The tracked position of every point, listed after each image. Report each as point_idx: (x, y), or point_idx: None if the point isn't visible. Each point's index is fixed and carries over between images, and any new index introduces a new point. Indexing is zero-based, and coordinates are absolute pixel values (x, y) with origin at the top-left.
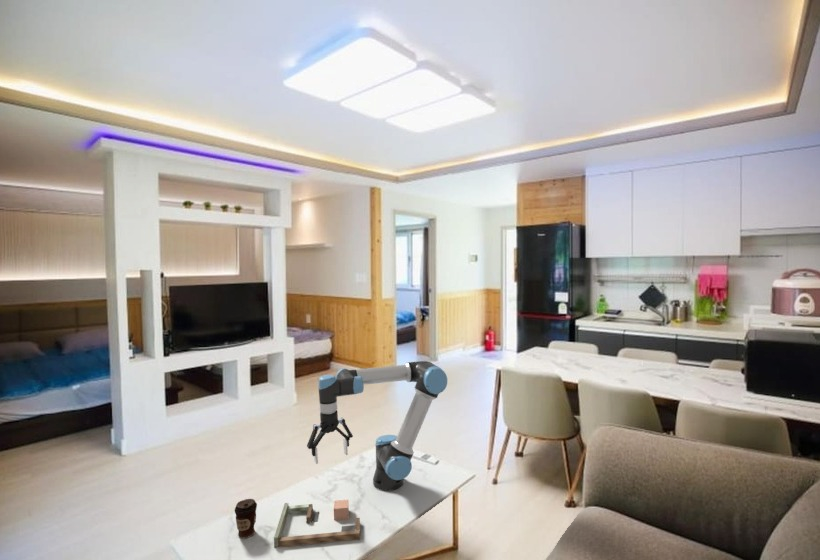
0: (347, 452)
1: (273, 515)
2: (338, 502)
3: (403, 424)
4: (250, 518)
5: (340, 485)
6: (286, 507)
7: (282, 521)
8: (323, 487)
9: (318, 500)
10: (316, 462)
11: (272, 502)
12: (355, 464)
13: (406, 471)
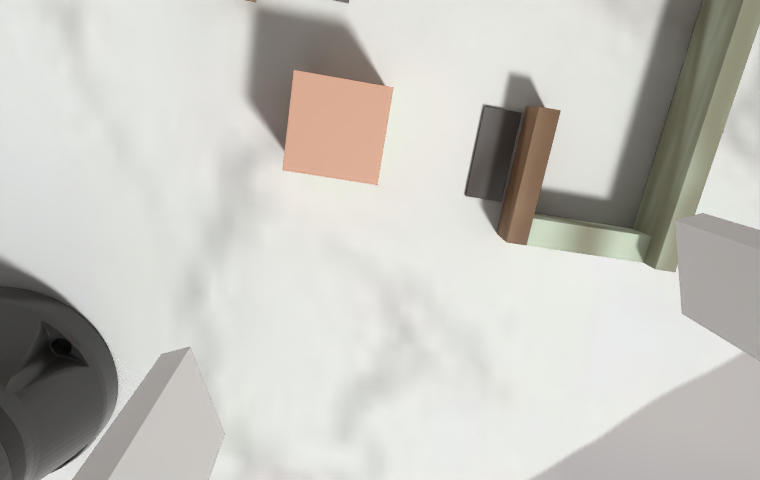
0: (148, 376)
1: None
2: (353, 155)
3: None
4: None
5: (317, 419)
6: (673, 222)
7: (720, 75)
8: (414, 424)
9: (455, 309)
10: (719, 218)
11: (692, 359)
12: None
13: None
